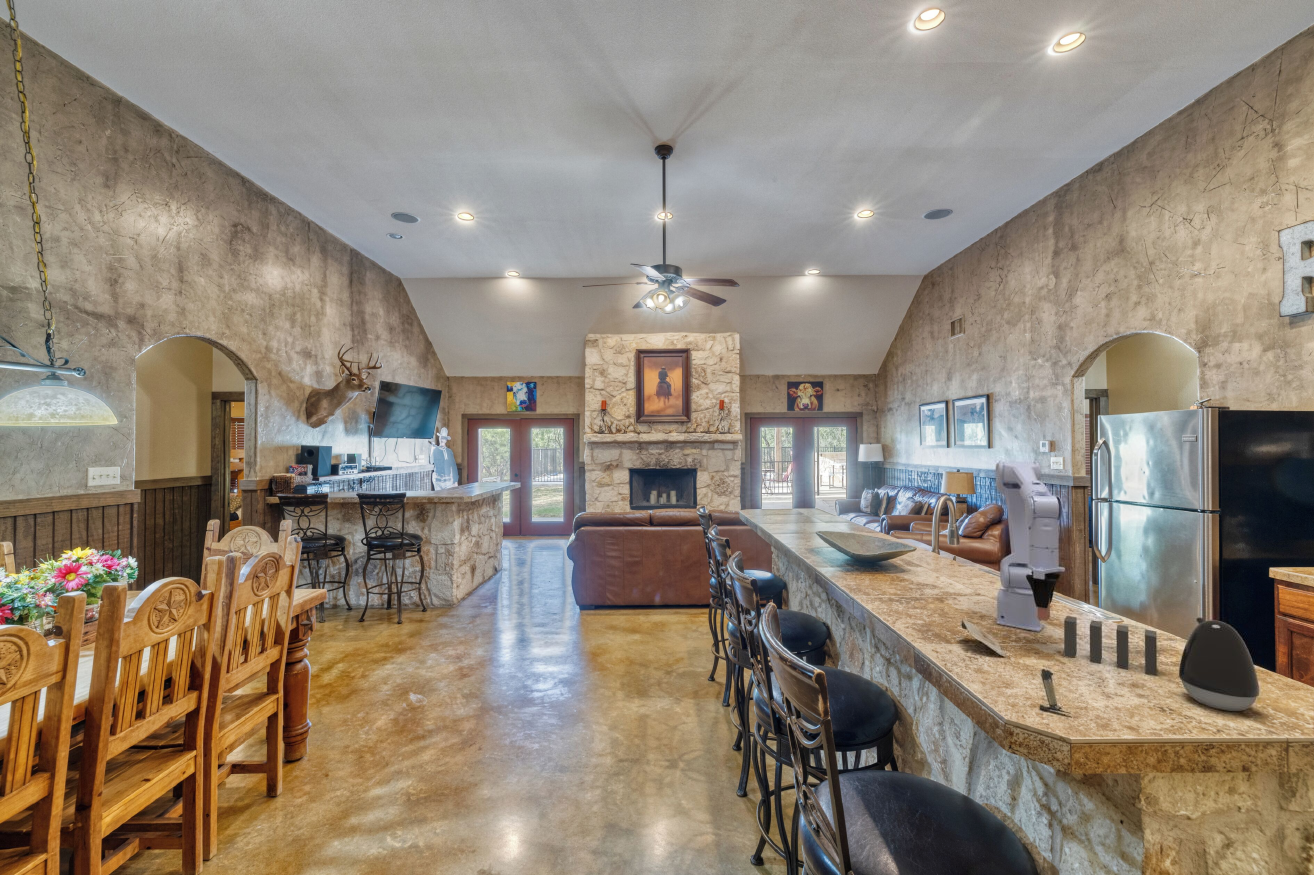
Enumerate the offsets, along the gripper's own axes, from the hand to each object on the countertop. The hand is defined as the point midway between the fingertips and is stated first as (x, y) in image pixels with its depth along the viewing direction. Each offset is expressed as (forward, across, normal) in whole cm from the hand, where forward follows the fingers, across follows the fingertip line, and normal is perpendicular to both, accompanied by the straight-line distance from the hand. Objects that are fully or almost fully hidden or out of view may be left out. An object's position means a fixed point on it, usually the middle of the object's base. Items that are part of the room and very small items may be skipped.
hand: (1043, 605), depth 126 cm
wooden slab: (+10, -10, +10) cm, 18 cm away
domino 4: (+10, 0, -18) cm, 21 cm away
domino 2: (+10, 0, -10) cm, 14 cm away
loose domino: (+3, 0, 0) cm, 3 cm away
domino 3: (+10, 0, -14) cm, 17 cm away
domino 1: (+10, 0, -5) cm, 11 cm away
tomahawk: (+11, -28, -6) cm, 30 cm away
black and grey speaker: (+10, -12, -28) cm, 32 cm away
